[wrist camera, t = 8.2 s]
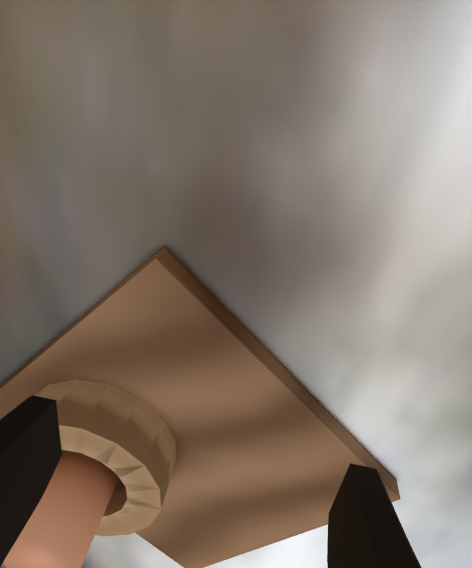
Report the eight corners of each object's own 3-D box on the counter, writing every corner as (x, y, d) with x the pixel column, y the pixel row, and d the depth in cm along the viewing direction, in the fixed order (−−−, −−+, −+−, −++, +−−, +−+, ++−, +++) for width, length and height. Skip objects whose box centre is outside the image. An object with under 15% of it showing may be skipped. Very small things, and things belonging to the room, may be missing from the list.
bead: (207, 456, 25) (195, 505, 22) (111, 504, 29) (91, 550, 26) (86, 354, 22) (57, 397, 20) (-2, 423, 26) (-36, 466, 23)
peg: (144, 446, 25) (91, 576, 19) (107, 468, 27) (47, 594, 21) (96, 408, 24) (25, 533, 18) (61, 433, 26) (-16, 555, 20)
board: (396, 480, 25) (400, 499, 24) (194, 555, 33) (190, 571, 32) (163, 246, 20) (155, 258, 19) (-18, 399, 27) (-30, 414, 26)
